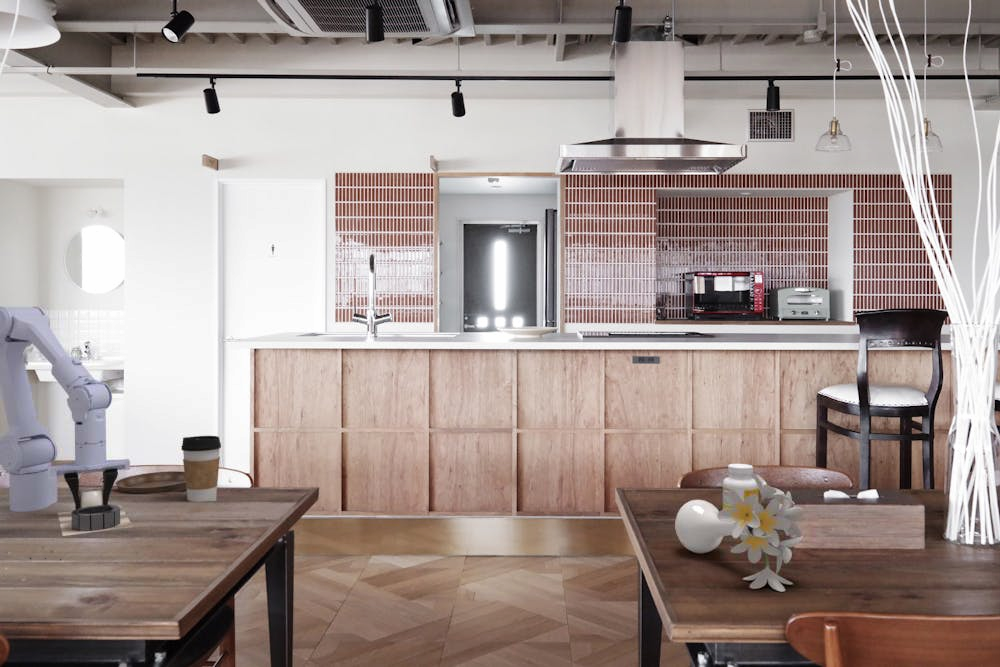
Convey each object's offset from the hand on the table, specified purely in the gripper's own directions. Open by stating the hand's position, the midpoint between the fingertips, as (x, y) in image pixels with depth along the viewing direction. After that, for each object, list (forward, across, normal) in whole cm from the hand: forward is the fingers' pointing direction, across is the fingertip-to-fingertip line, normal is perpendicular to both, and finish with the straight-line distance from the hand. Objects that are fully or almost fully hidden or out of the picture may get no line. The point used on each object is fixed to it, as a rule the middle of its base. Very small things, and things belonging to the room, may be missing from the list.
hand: (91, 507), depth 163 cm
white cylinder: (+1, 0, 0) cm, 1 cm away
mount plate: (+2, 0, -5) cm, 6 cm away
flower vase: (+3, +88, -92) cm, 128 cm away
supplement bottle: (+3, +107, -78) cm, 132 cm away
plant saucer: (+3, +16, +22) cm, 27 cm away
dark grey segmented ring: (+1, 0, -10) cm, 10 cm away
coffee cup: (+3, +22, +2) cm, 23 cm away
